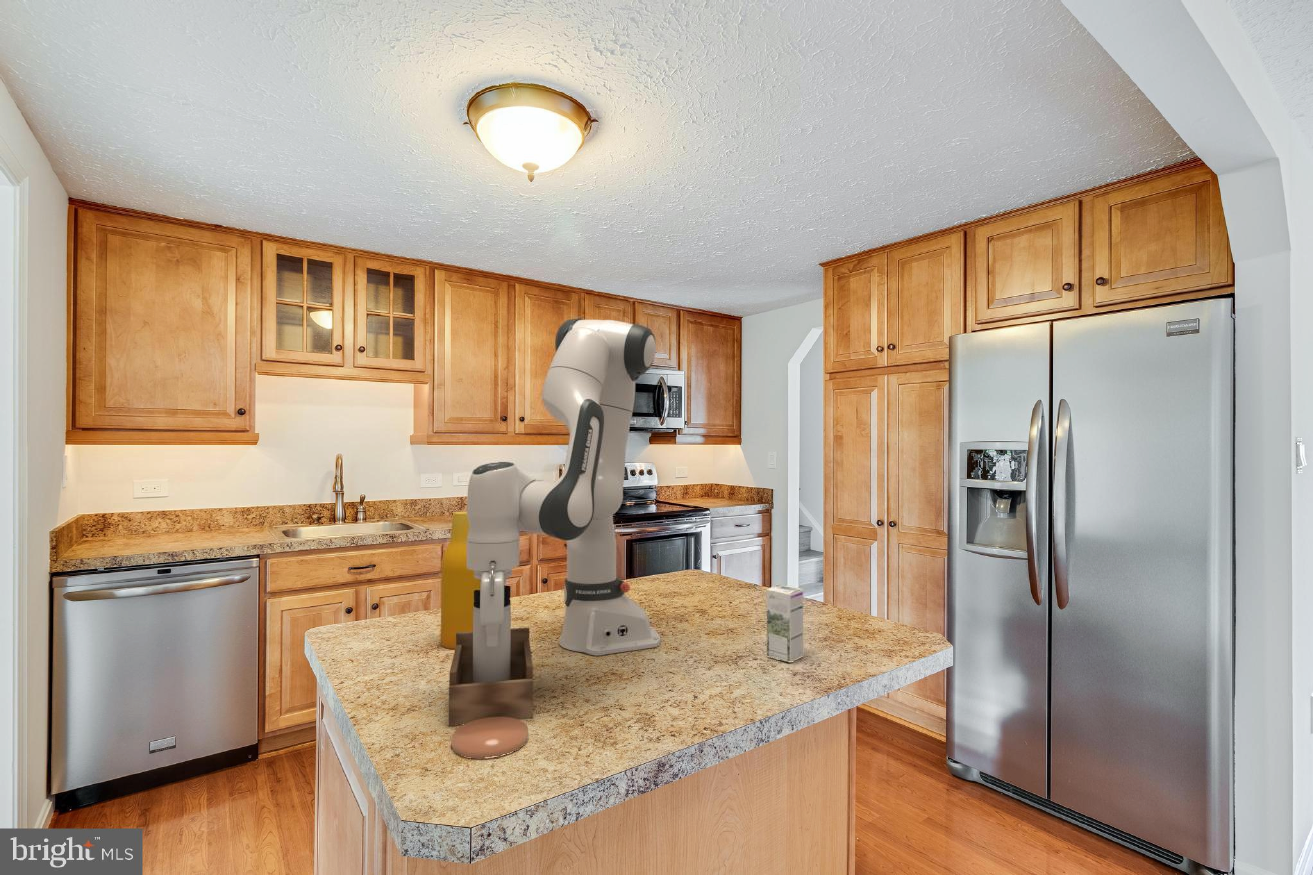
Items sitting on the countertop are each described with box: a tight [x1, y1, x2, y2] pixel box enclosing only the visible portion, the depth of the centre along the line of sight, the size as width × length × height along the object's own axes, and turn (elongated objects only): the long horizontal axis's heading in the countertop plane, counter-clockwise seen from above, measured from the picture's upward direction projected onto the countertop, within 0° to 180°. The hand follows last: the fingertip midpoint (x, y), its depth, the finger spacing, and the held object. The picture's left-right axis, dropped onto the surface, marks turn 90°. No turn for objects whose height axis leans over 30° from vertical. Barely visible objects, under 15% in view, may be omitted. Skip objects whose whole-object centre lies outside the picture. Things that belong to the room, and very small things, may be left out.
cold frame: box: [448, 627, 534, 727], centre depth 107 cm, size 13×16×10 cm
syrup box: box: [766, 584, 804, 661], centre depth 130 cm, size 6×6×14 cm
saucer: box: [451, 717, 529, 758], centre depth 93 cm, size 11×11×1 cm
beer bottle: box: [439, 511, 481, 650], centre depth 139 cm, size 9×9×29 cm
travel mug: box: [473, 584, 512, 683], centre depth 107 cm, size 6×7×20 cm
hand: (492, 636), depth 107 cm, fingers open, 8 cm apart
